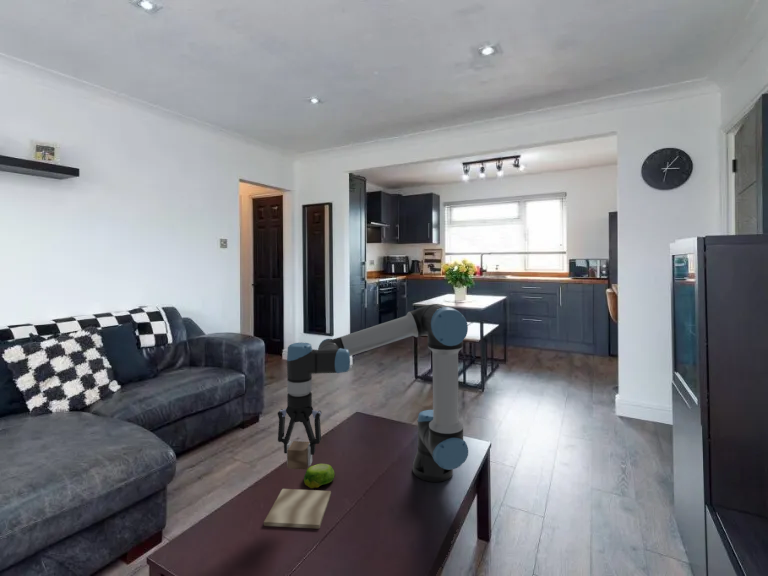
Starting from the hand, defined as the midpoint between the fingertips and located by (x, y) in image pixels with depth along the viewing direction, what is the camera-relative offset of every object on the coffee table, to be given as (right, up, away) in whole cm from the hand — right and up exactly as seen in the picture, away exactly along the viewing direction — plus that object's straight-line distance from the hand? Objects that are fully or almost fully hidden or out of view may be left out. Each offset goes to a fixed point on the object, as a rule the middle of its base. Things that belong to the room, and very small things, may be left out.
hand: (299, 463), depth 124 cm
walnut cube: (0, 0, 0) cm, 0 cm away
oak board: (0, -15, +1) cm, 15 cm away
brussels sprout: (+3, -15, +18) cm, 23 cm away
